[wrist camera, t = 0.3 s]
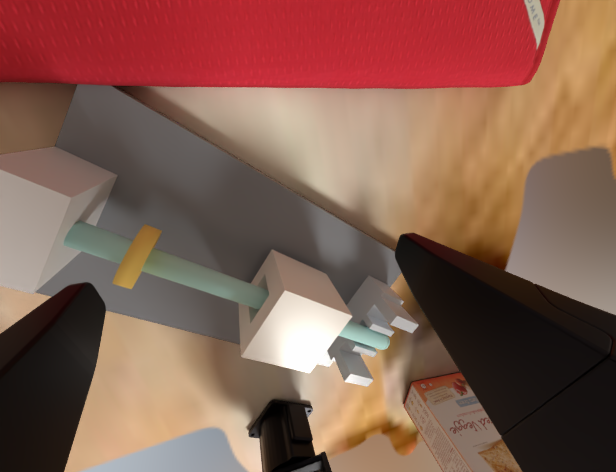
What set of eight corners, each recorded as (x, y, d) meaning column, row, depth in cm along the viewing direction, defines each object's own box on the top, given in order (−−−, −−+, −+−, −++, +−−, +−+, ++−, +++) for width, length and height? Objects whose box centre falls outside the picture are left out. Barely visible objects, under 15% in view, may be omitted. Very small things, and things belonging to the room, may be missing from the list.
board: (325, 358, 32) (348, 415, 26) (16, 275, 19) (-83, 347, 13) (403, 255, 29) (450, 292, 23) (92, 73, 16) (6, 43, 10)
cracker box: (481, 364, 43) (668, 546, 25) (469, 389, 45) (632, 573, 27) (410, 379, 39) (570, 608, 21) (401, 405, 42) (537, 633, 23)
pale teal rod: (366, 342, 28) (385, 373, 25) (44, 235, 16) (-7, 266, 13) (387, 314, 28) (410, 343, 24) (66, 179, 15) (17, 197, 12)
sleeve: (293, 321, 26) (309, 373, 20) (238, 303, 23) (240, 357, 18) (326, 273, 25) (352, 316, 19) (271, 249, 22) (284, 290, 17)
